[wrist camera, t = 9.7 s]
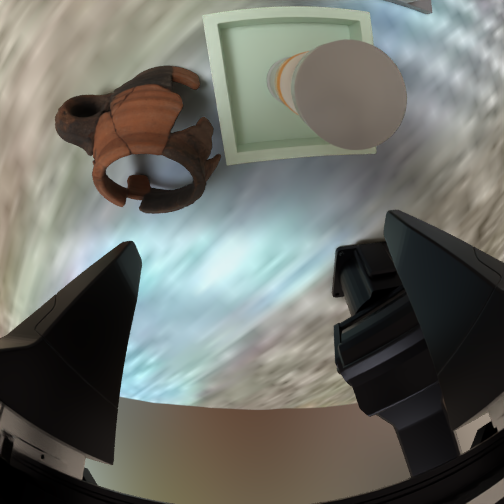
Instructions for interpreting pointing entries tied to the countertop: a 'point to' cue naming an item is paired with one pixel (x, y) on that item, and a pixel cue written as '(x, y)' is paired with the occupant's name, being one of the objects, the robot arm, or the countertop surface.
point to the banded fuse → (342, 92)
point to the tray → (255, 72)
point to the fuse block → (415, 5)
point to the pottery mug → (141, 136)
